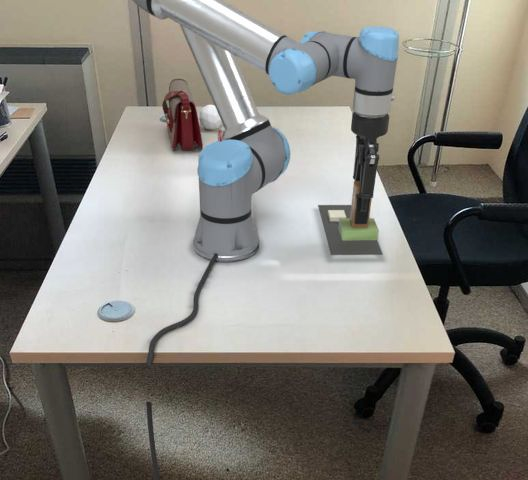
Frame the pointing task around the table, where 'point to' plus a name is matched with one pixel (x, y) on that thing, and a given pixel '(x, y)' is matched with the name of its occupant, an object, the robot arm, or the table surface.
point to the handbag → (181, 116)
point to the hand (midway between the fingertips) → (359, 218)
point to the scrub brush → (357, 230)
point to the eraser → (336, 215)
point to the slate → (336, 241)
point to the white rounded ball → (210, 117)
